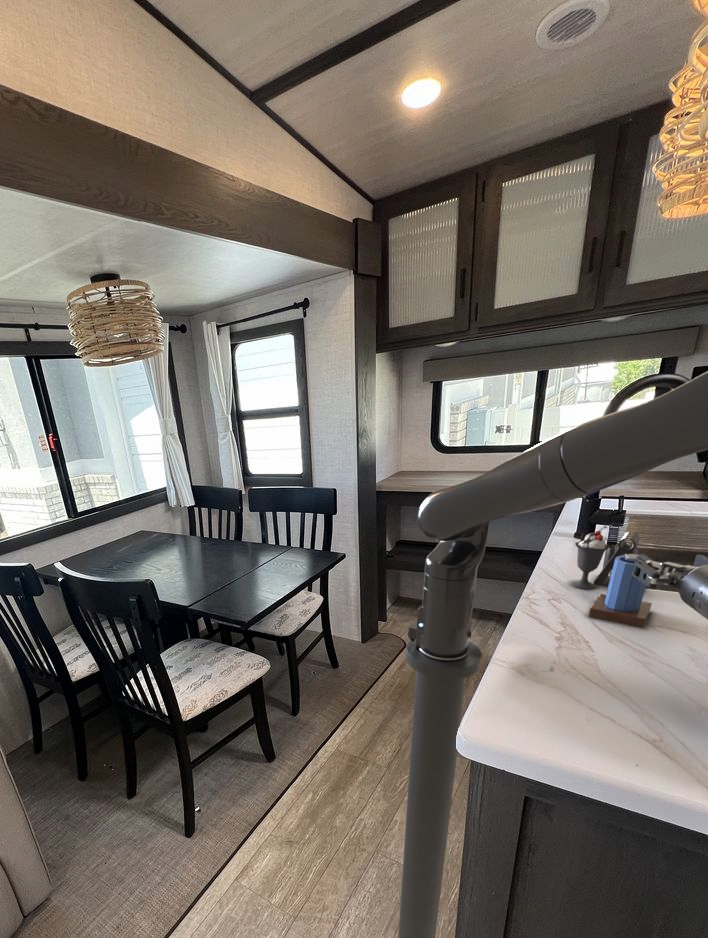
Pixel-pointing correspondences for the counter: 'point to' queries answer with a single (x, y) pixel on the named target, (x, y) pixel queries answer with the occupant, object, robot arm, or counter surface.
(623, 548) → the phone stand
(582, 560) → the sundae
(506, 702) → the counter surface
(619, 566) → the blue sleeve
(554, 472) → the robot arm
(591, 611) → the wooden base post
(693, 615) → the counter surface
